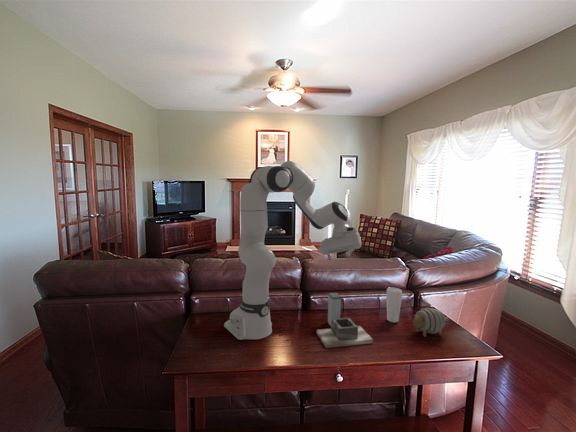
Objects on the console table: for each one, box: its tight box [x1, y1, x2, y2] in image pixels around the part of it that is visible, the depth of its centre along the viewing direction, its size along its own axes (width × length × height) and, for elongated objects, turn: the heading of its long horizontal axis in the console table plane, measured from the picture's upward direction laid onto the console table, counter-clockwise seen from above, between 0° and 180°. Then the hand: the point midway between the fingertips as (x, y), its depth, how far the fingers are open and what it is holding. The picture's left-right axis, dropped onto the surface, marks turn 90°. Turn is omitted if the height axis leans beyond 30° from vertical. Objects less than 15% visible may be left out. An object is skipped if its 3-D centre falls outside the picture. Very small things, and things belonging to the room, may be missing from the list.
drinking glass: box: [385, 287, 403, 323], centre depth 138 cm, size 7×7×15 cm
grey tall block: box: [327, 292, 342, 328], centre depth 134 cm, size 5×4×14 cm
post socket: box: [316, 317, 374, 349], centre depth 122 cm, size 12×20×6 cm, turn 102°
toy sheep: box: [412, 307, 450, 338], centre depth 127 cm, size 11×17×11 cm, turn 107°
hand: (338, 257), depth 134 cm, fingers open, 8 cm apart
